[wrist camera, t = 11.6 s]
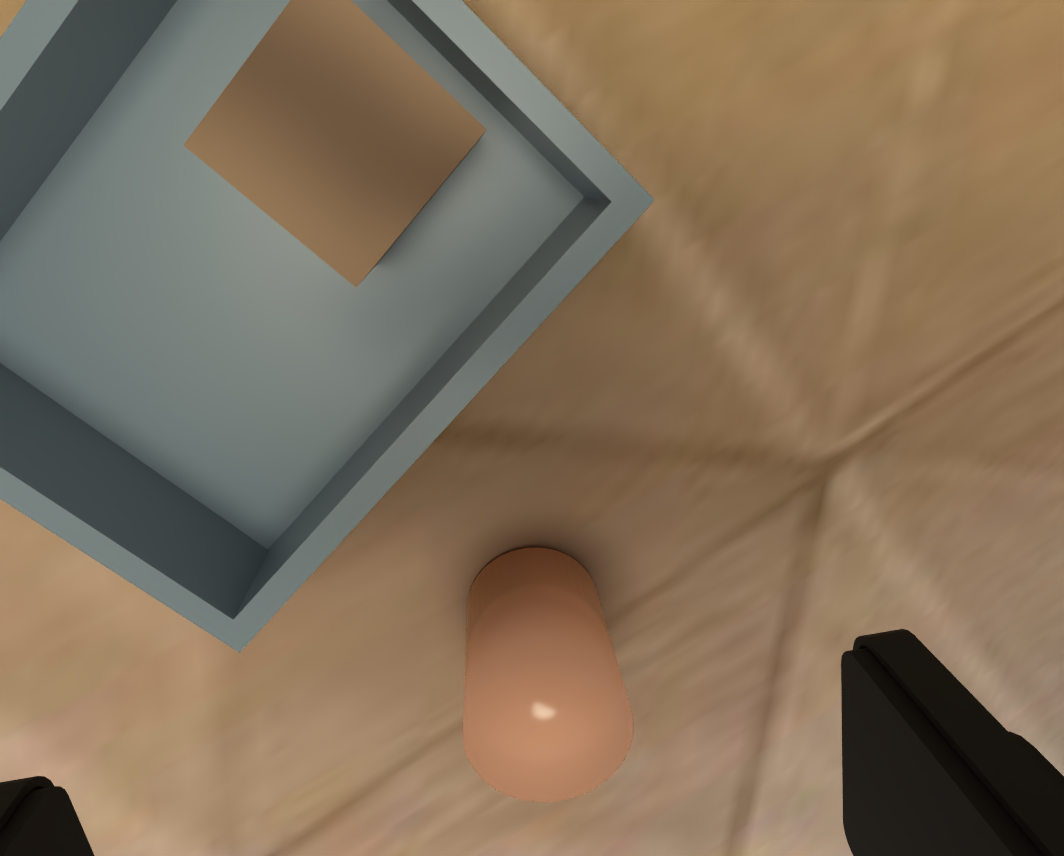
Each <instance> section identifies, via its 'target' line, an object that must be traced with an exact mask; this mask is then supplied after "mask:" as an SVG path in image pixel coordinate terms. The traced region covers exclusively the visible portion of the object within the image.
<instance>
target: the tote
mask: <svg viewBox="0 0 1064 856" xmlns="http://www.w3.org/2000/svg"><path fill="white" fill-rule="evenodd" d="M289 1H290V0H26V2H25V3H24V5H23V6H22V8H21V9H20V10H19V12H18V13H17V15H16V16H15V18H14V19H13V21H12V22H11V23H10V25H9V26H8V28H7V29H6V31H5V32H4V34H3V35H2V36H1V38H0V499H1V500H3V501H4V502H6V503H8V504H9V505H11V506H12V507H14V508H15V509H17V510H18V511H20V512H22V513H23V514H25V515H26V516H28V517H29V518H31V519H32V520H34V521H36V522H37V523H39V524H40V525H42V526H43V527H45V528H46V529H48V530H50V531H51V532H53V533H54V534H56V535H57V536H59V537H60V538H62V539H64V540H65V541H67V542H68V543H70V544H71V545H73V546H74V547H76V548H78V549H79V550H81V551H82V552H84V553H85V554H87V555H88V556H90V557H92V558H93V559H95V560H96V561H98V562H99V563H101V564H102V565H104V566H106V567H107V568H109V569H110V570H112V571H113V572H115V573H116V574H118V575H120V576H121V577H123V578H124V579H126V580H127V581H129V582H130V583H132V584H134V585H135V586H137V587H138V588H140V589H141V590H143V591H144V592H146V593H148V594H149V595H151V596H152V597H154V598H155V599H157V600H158V601H160V602H162V603H163V604H165V605H166V606H168V607H169V608H171V609H172V610H174V611H176V612H177V613H179V614H180V615H182V616H183V617H185V618H186V619H188V620H190V621H191V622H193V623H194V624H196V625H197V626H199V627H200V628H202V629H204V630H205V631H207V632H208V633H210V634H211V635H213V636H214V637H216V638H218V639H219V640H221V641H222V642H224V643H225V644H227V645H228V646H230V647H232V648H233V649H235V650H236V651H238V652H239V653H240V652H241V650H242V649H243V648H244V647H245V646H246V645H247V644H248V643H249V642H250V641H251V640H252V638H253V637H254V636H255V635H256V634H257V633H258V632H259V631H260V630H261V629H262V628H263V626H264V625H265V624H266V623H267V622H268V621H269V620H270V619H271V618H272V617H273V616H274V615H275V613H276V612H277V611H278V610H279V609H280V608H281V607H282V606H283V605H284V604H285V603H286V601H287V600H288V599H289V598H290V597H291V596H292V595H293V594H294V593H295V592H296V591H297V589H298V588H299V587H300V586H301V585H302V584H303V583H304V582H305V581H306V580H307V579H308V577H309V576H310V575H311V574H312V573H313V572H314V571H315V570H316V569H317V568H318V567H319V565H320V564H321V563H322V562H323V561H324V560H325V559H326V558H327V557H328V556H329V555H330V553H331V552H332V551H333V550H334V549H335V548H336V547H337V546H338V545H339V544H340V543H341V541H342V540H343V539H344V538H345V537H346V536H347V535H348V534H349V533H350V532H351V531H352V529H353V528H354V527H355V526H356V525H357V524H358V523H359V522H360V521H361V520H362V519H363V517H364V516H365V515H366V514H367V513H368V512H369V511H370V510H371V509H372V508H373V507H374V506H375V504H376V503H377V502H378V501H379V500H380V499H381V498H382V497H383V496H384V495H385V494H386V492H387V491H388V490H389V489H390V488H391V487H392V486H393V485H394V484H395V483H396V482H397V480H398V479H399V478H400V477H401V476H402V475H403V474H404V473H405V472H406V471H407V470H408V468H409V467H410V466H411V465H412V464H413V463H414V462H415V461H416V460H417V459H418V458H419V456H420V455H421V454H422V453H423V452H424V451H425V450H426V449H427V448H428V447H429V446H430V444H431V443H432V442H433V441H434V440H435V439H436V438H437V437H438V436H439V435H440V434H441V432H442V431H443V430H444V429H445V428H446V427H447V426H448V425H449V424H450V423H451V422H452V420H453V419H454V418H455V417H456V416H457V415H458V414H459V413H460V412H461V411H462V410H463V408H464V407H465V406H466V405H467V404H468V403H469V402H470V401H471V400H472V399H473V398H474V397H475V395H476V394H477V393H478V392H479V391H480V390H481V389H482V388H483V387H484V386H485V385H486V383H487V382H488V381H489V380H490V379H491V378H492V377H493V376H494V375H495V374H496V373H497V371H498V370H499V369H500V368H501V367H502V366H503V365H504V364H505V363H506V362H507V361H508V359H509V358H510V357H511V356H512V355H513V354H514V353H515V352H516V351H517V350H518V349H519V347H520V346H521V345H522V344H523V343H524V342H525V341H526V340H527V339H528V338H529V337H530V335H531V334H532V333H533V332H534V331H535V330H536V329H537V328H538V327H539V326H540V325H541V323H542V322H543V321H544V320H545V319H546V318H547V317H548V316H549V315H550V314H551V313H552V311H553V310H554V309H555V308H556V307H557V306H558V305H559V304H560V303H561V302H562V301H563V299H564V298H565V297H566V296H567V295H568V294H569V293H570V292H571V291H572V290H573V289H574V287H575V286H576V285H577V284H578V283H579V282H580V281H581V280H582V279H583V278H584V277H585V276H586V274H587V273H588V272H589V271H590V270H591V269H592V268H593V267H594V266H595V265H596V264H597V262H598V261H599V260H600V259H601V258H602V257H603V256H604V255H605V254H606V253H607V252H608V250H609V249H610V248H611V247H612V246H613V245H614V244H615V243H616V242H617V241H618V240H619V238H620V237H621V236H622V235H623V234H624V233H625V232H626V231H627V230H628V229H629V228H630V226H631V225H632V224H633V223H634V222H635V221H636V220H637V219H638V218H639V217H640V216H641V214H642V213H643V212H644V211H645V210H646V209H647V208H648V207H649V206H650V205H651V204H652V202H653V201H654V198H653V197H652V196H651V195H650V194H649V193H648V192H647V191H646V190H645V189H644V188H643V187H642V186H641V185H640V184H639V183H638V182H637V181H636V180H635V179H634V178H633V177H632V176H631V175H630V174H629V173H628V172H627V171H626V170H625V169H624V167H623V166H622V165H621V164H620V163H619V162H618V161H617V160H616V159H615V158H614V157H613V156H612V155H611V154H610V153H609V152H608V151H607V150H606V149H605V148H604V147H603V146H602V145H601V144H600V143H599V142H598V141H597V140H596V139H595V138H594V137H593V135H592V134H591V133H590V132H589V131H588V130H587V129H586V128H585V127H584V126H583V125H582V124H581V123H580V122H579V121H578V120H577V119H576V118H575V117H574V116H573V115H572V114H571V113H570V112H569V111H568V110H567V109H566V108H565V107H564V106H563V104H562V103H561V102H560V101H559V100H558V99H557V98H556V97H555V96H554V95H553V94H552V93H551V92H550V91H549V90H548V89H547V88H546V87H545V86H544V85H543V84H542V83H541V82H540V81H539V80H538V79H537V78H536V77H535V76H534V75H533V73H532V72H531V71H530V70H529V69H528V68H527V67H526V66H525V65H524V64H523V63H522V62H521V61H520V60H519V59H518V58H517V57H516V56H515V55H514V54H513V53H512V52H511V51H510V50H509V49H508V48H507V47H506V46H505V45H504V44H503V42H502V41H501V40H500V39H499V38H498V37H497V36H496V35H495V34H494V33H493V32H492V31H491V30H490V29H489V28H488V27H487V26H486V25H485V24H484V23H483V22H482V21H481V20H480V19H479V18H478V17H477V16H476V15H475V14H474V13H473V11H472V10H471V9H470V8H469V7H468V6H467V5H466V4H465V3H464V2H463V1H462V0H352V1H353V2H354V3H355V4H356V5H357V6H358V7H359V8H360V9H361V10H362V11H363V12H364V13H365V14H366V15H367V16H368V17H369V18H370V19H371V20H373V21H374V22H375V23H376V24H377V25H378V26H379V27H380V28H381V29H382V30H383V31H384V32H385V33H386V34H387V35H388V36H389V37H390V38H391V39H392V40H394V41H395V42H396V43H397V44H398V45H399V46H400V47H401V48H402V49H403V50H404V51H405V52H406V53H407V54H408V55H409V56H410V57H411V58H412V59H413V60H415V61H416V62H417V63H418V64H419V65H420V66H421V67H422V68H423V69H424V70H425V71H426V72H427V73H428V74H429V75H430V76H431V77H432V78H433V79H434V80H435V81H437V82H438V83H439V84H440V85H441V86H442V87H443V88H444V89H445V90H446V91H447V92H448V93H449V94H450V95H451V96H452V97H453V98H454V99H455V100H456V101H458V102H459V103H460V104H461V105H462V106H463V107H464V108H465V109H466V110H467V111H468V112H469V113H470V114H471V115H472V116H473V117H474V118H475V119H476V120H477V121H478V122H480V123H481V124H482V125H483V126H484V127H485V128H486V129H487V130H486V131H485V133H484V134H483V136H482V137H481V139H480V140H479V141H478V142H477V143H476V145H475V146H474V147H473V148H472V150H471V151H470V152H469V153H468V154H467V156H466V157H465V158H464V159H463V160H462V162H461V163H460V164H459V165H458V167H457V168H456V169H455V170H454V171H453V173H452V174H451V175H450V176H449V177H448V179H447V180H446V181H445V182H444V183H443V185H442V186H441V187H440V188H439V190H438V191H437V192H436V193H435V194H434V196H433V197H432V198H431V199H430V200H429V202H428V203H427V204H426V205H425V207H424V208H423V209H422V210H421V211H420V213H419V214H418V215H417V216H416V217H415V219H414V220H413V221H412V222H411V223H410V225H409V226H408V227H407V228H406V230H405V231H404V232H403V233H402V234H401V236H400V237H399V238H398V239H397V240H396V242H395V243H394V244H393V245H392V247H391V248H390V249H389V250H388V251H387V253H386V254H385V255H384V256H383V257H382V259H381V260H380V261H379V262H378V263H377V265H376V266H375V267H374V268H373V269H372V270H371V272H370V273H369V274H368V275H367V276H366V277H365V278H364V280H363V281H362V282H361V283H360V284H359V285H358V286H357V288H356V287H355V286H353V285H352V284H351V283H350V282H349V281H347V280H346V279H345V278H344V277H343V276H341V275H340V274H339V273H338V272H336V271H335V270H334V269H333V268H332V267H330V266H329V265H328V264H327V263H326V262H324V261H323V260H322V259H321V258H319V257H318V256H317V255H316V254H315V253H313V252H312V251H311V250H310V249H309V248H307V247H306V246H305V245H304V244H302V243H301V242H300V241H299V240H298V239H296V238H295V237H294V236H293V235H292V234H290V233H289V232H288V231H287V230H286V229H284V228H283V227H282V226H281V225H279V224H278V223H277V222H276V221H275V220H273V219H272V218H271V217H270V216H269V215H267V214H266V213H265V212H264V211H262V210H261V209H260V208H259V207H258V206H256V205H255V204H254V203H253V202H252V201H250V200H249V199H248V198H247V197H245V196H244V195H243V194H242V193H241V192H239V191H238V190H237V189H236V188H235V187H233V186H232V185H231V184H230V183H228V182H227V181H226V180H225V179H224V178H222V177H221V176H220V175H219V174H218V173H216V172H215V171H214V170H213V169H211V168H210V167H209V166H208V165H207V164H205V163H204V162H203V161H202V160H201V159H199V158H198V157H197V156H196V155H195V154H193V153H192V152H191V151H190V150H188V149H187V148H186V147H185V146H184V143H185V142H186V141H187V139H188V138H189V137H190V135H191V134H192V133H193V131H194V130H195V129H196V127H197V126H198V124H199V123H200V122H201V120H202V119H203V118H204V116H205V115H206V114H207V112H208V111H209V110H210V108H211V107H212V106H213V104H214V103H215V101H216V100H217V99H218V97H219V96H220V95H221V93H222V92H223V91H224V89H225V88H226V87H227V85H228V84H229V83H230V81H231V80H232V79H233V77H234V76H235V74H236V73H237V72H238V70H239V69H240V68H241V66H242V65H243V64H244V62H245V61H246V60H247V58H248V57H249V56H250V54H251V53H252V51H253V50H254V49H255V47H256V46H257V45H258V43H259V42H260V41H261V39H262V38H263V37H264V35H265V34H266V33H267V31H268V30H269V29H270V27H271V26H272V24H273V23H274V22H275V20H276V19H277V18H278V16H279V15H280V14H281V12H282V11H283V10H284V8H285V7H286V6H287V4H288V3H289Z"/></svg>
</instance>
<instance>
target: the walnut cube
mask: <svg viewBox="0 0 1064 856" xmlns="http://www.w3.org/2000/svg"><path fill="white" fill-rule="evenodd" d="M486 130H487V129H486V128H485V127H484V126H483V125H482V124H481V123H480V122H478V121H477V120H476V119H475V118H474V117H473V116H472V115H471V114H470V113H469V112H468V111H467V110H466V109H465V108H464V107H463V106H462V105H461V104H460V103H459V102H458V101H456V100H455V99H454V98H453V97H452V96H451V95H450V94H449V93H448V92H447V91H446V90H445V89H444V88H443V87H442V86H441V85H440V84H439V83H438V82H437V81H435V80H434V79H433V78H432V77H431V76H430V75H429V74H428V73H427V72H426V71H425V70H424V69H423V68H422V67H421V66H420V65H419V64H418V63H417V62H416V61H415V60H413V59H412V58H411V57H410V56H409V55H408V54H407V53H406V52H405V51H404V50H403V49H402V48H401V47H400V46H399V45H398V44H397V43H396V42H395V41H394V40H392V39H391V38H390V37H389V36H388V35H387V34H386V33H385V32H384V31H383V30H382V29H381V28H380V27H379V26H378V25H377V24H376V23H375V22H374V21H373V20H371V19H370V18H369V17H368V16H367V15H366V14H365V13H364V12H363V11H362V10H361V9H360V8H359V7H358V6H357V5H356V4H355V3H354V2H353V1H352V0H290V1H289V3H288V4H287V6H286V7H285V8H284V10H283V11H282V12H281V14H280V15H279V16H278V18H277V19H276V20H275V22H274V23H273V24H272V26H271V27H270V29H269V30H268V31H267V33H266V34H265V35H264V37H263V38H262V39H261V41H260V42H259V43H258V45H257V46H256V47H255V49H254V50H253V51H252V53H251V54H250V56H249V57H248V58H247V60H246V61H245V62H244V64H243V65H242V66H241V68H240V69H239V70H238V72H237V73H236V74H235V76H234V77H233V79H232V80H231V81H230V83H229V84H228V85H227V87H226V88H225V89H224V91H223V92H222V93H221V95H220V96H219V97H218V99H217V100H216V101H215V103H214V104H213V106H212V107H211V108H210V110H209V111H208V112H207V114H206V115H205V116H204V118H203V119H202V120H201V122H200V123H199V124H198V126H197V127H196V129H195V130H194V131H193V133H192V134H191V135H190V137H189V138H188V139H187V141H186V142H185V143H184V146H185V147H186V148H187V149H188V150H190V151H191V152H192V153H193V154H195V155H196V156H197V157H198V158H199V159H201V160H202V161H203V162H204V163H205V164H207V165H208V166H209V167H210V168H211V169H213V170H214V171H215V172H216V173H218V174H219V175H220V176H221V177H222V178H224V179H225V180H226V181H227V182H228V183H230V184H231V185H232V186H233V187H235V188H236V189H237V190H238V191H239V192H241V193H242V194H243V195H244V196H245V197H247V198H248V199H249V200H250V201H252V202H253V203H254V204H255V205H256V206H258V207H259V208H260V209H261V210H262V211H264V212H265V213H266V214H267V215H269V216H270V217H271V218H272V219H273V220H275V221H276V222H277V223H278V224H279V225H281V226H282V227H283V228H284V229H286V230H287V231H288V232H289V233H290V234H292V235H293V236H294V237H295V238H296V239H298V240H299V241H300V242H301V243H302V244H304V245H305V246H306V247H307V248H309V249H310V250H311V251H312V252H313V253H315V254H316V255H317V256H318V257H319V258H321V259H322V260H323V261H324V262H326V263H327V264H328V265H329V266H330V267H332V268H333V269H334V270H335V271H336V272H338V273H339V274H340V275H341V276H343V277H344V278H345V279H346V280H347V281H349V282H350V283H351V284H352V285H353V286H355V287H356V288H357V286H358V285H359V284H360V283H361V282H362V281H363V280H364V278H365V277H366V276H367V275H368V274H369V273H370V272H371V270H372V269H373V268H374V267H375V266H376V265H377V263H378V262H379V261H380V260H381V259H382V257H383V256H384V255H385V254H386V253H387V251H388V250H389V249H390V248H391V247H392V245H393V244H394V243H395V242H396V240H397V239H398V238H399V237H400V236H401V234H402V233H403V232H404V231H405V230H406V228H407V227H408V226H409V225H410V223H411V222H412V221H413V220H414V219H415V217H416V216H417V215H418V214H419V213H420V211H421V210H422V209H423V208H424V207H425V205H426V204H427V203H428V202H429V200H430V199H431V198H432V197H433V196H434V194H435V193H436V192H437V191H438V190H439V188H440V187H441V186H442V185H443V183H444V182H445V181H446V180H447V179H448V177H449V176H450V175H451V174H452V173H453V171H454V170H455V169H456V168H457V167H458V165H459V164H460V163H461V162H462V160H463V159H464V158H465V157H466V156H467V154H468V153H469V152H470V151H471V150H472V148H473V147H474V146H475V145H476V143H477V142H478V141H479V140H480V139H481V137H482V136H483V134H484V133H485V131H486Z"/></svg>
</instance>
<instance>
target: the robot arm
mask: <svg viewBox="0 0 1064 856" xmlns="http://www.w3.org/2000/svg"><path fill="white" fill-rule="evenodd" d="M841 683H842V769H843V824H844V830H845V835H846V838H847V841H848V844H849V847H850V849H851V852H852V854H853V856H1064V776H1063V775H1062V774H1061V773H1060V772H1059V771H1058V770H1057V769H1056V768H1055V767H1054V766H1053V765H1052V764H1051V763H1050V762H1049V761H1048V760H1047V759H1046V758H1045V757H1044V756H1043V755H1042V754H1041V753H1040V752H1039V751H1038V750H1037V749H1036V748H1035V747H1034V746H1033V745H1031V744H1030V743H1029V742H1028V741H1026V740H1025V739H1024V738H1023V737H1022V736H1020V735H1017V734H1015V733H1012V732H1008V731H1007V730H1006V729H1005V728H1004V727H1003V726H1002V725H1001V724H1000V723H999V722H998V721H997V720H996V719H995V718H994V717H993V716H992V715H991V714H990V713H989V712H988V711H987V710H986V709H985V707H984V706H983V705H982V704H981V703H980V702H979V701H978V700H977V699H976V698H975V697H974V696H973V695H972V694H971V693H970V692H969V691H968V690H967V689H966V688H965V687H964V686H963V685H962V684H961V683H960V682H959V681H958V680H957V679H956V678H955V677H954V676H953V675H952V674H951V673H950V671H949V670H948V669H947V668H946V667H945V666H944V665H943V664H942V663H941V662H940V661H939V660H938V659H937V658H936V657H935V656H934V655H933V654H932V653H931V652H930V651H929V650H928V649H927V648H926V647H925V646H924V645H923V644H922V643H921V642H920V641H919V640H918V639H917V638H916V636H915V635H913V634H912V633H911V632H910V631H908V630H905V629H900V630H894V631H888V632H882V633H876V634H870V635H864V636H859V637H858V638H856V640H855V642H854V646H853V650H851V651H846V652H844V653H843V655H842V660H841ZM0 856H94V854H93V851H92V849H91V847H90V844H89V842H88V840H87V837H86V835H85V833H84V830H83V828H82V826H81V823H80V821H79V819H78V817H77V814H76V812H75V810H74V807H73V805H72V803H71V800H70V798H69V796H68V794H67V792H66V791H65V789H63V788H62V787H58V786H55V787H54V785H53V783H52V782H51V780H49V779H48V778H46V777H44V776H36V777H30V778H24V779H18V780H12V781H6V782H1V783H0Z"/></svg>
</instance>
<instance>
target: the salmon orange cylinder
mask: <svg viewBox="0 0 1064 856" xmlns="http://www.w3.org/2000/svg"><path fill="white" fill-rule="evenodd" d="M633 729H634V722H633V715H632V711H631V707H630V704H629V701H628V697H627V694H626V690H625V687H624V683H623V680H622V677H621V673H620V670H619V666H618V663H617V659H616V656H615V652H614V649H613V646H612V642H611V639H610V635H609V632H608V628H607V625H606V621H605V618H604V615H603V611H602V608H601V604H600V601H599V597H598V594H597V591H596V587H595V584H594V582H593V580H592V578H591V577H590V575H589V574H588V572H587V571H586V570H585V569H584V567H583V566H582V565H581V564H579V563H578V562H577V561H576V560H574V559H573V558H571V557H570V556H568V555H566V554H564V553H561V552H558V551H555V550H552V549H546V548H524V549H518V550H515V551H511V552H508V553H506V554H504V555H502V556H500V557H498V558H496V559H495V560H493V561H492V562H491V563H489V564H488V565H487V566H486V567H485V568H484V569H483V570H482V571H481V572H480V573H479V575H478V576H477V577H476V579H475V581H474V582H473V584H472V586H471V589H470V592H469V595H468V600H467V617H466V651H465V684H464V717H463V742H464V748H465V752H466V755H467V757H468V760H469V762H470V764H471V765H472V767H473V769H474V770H475V772H476V773H477V774H478V775H479V776H480V778H482V779H483V780H484V781H485V782H486V783H487V784H488V785H490V786H491V787H493V788H494V789H495V790H497V791H499V792H501V793H503V794H505V795H508V796H510V797H513V798H517V799H520V800H525V801H532V802H555V801H561V800H567V799H570V798H574V797H577V796H580V795H582V794H584V793H587V792H589V791H591V790H592V789H594V788H596V787H598V786H599V785H600V784H602V783H603V782H605V781H606V780H607V779H608V778H609V777H610V776H612V775H613V773H614V772H615V771H616V770H617V769H618V768H619V767H620V765H621V764H622V762H623V761H624V759H625V757H626V755H627V753H628V751H629V749H630V746H631V742H632V738H633Z"/></svg>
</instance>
